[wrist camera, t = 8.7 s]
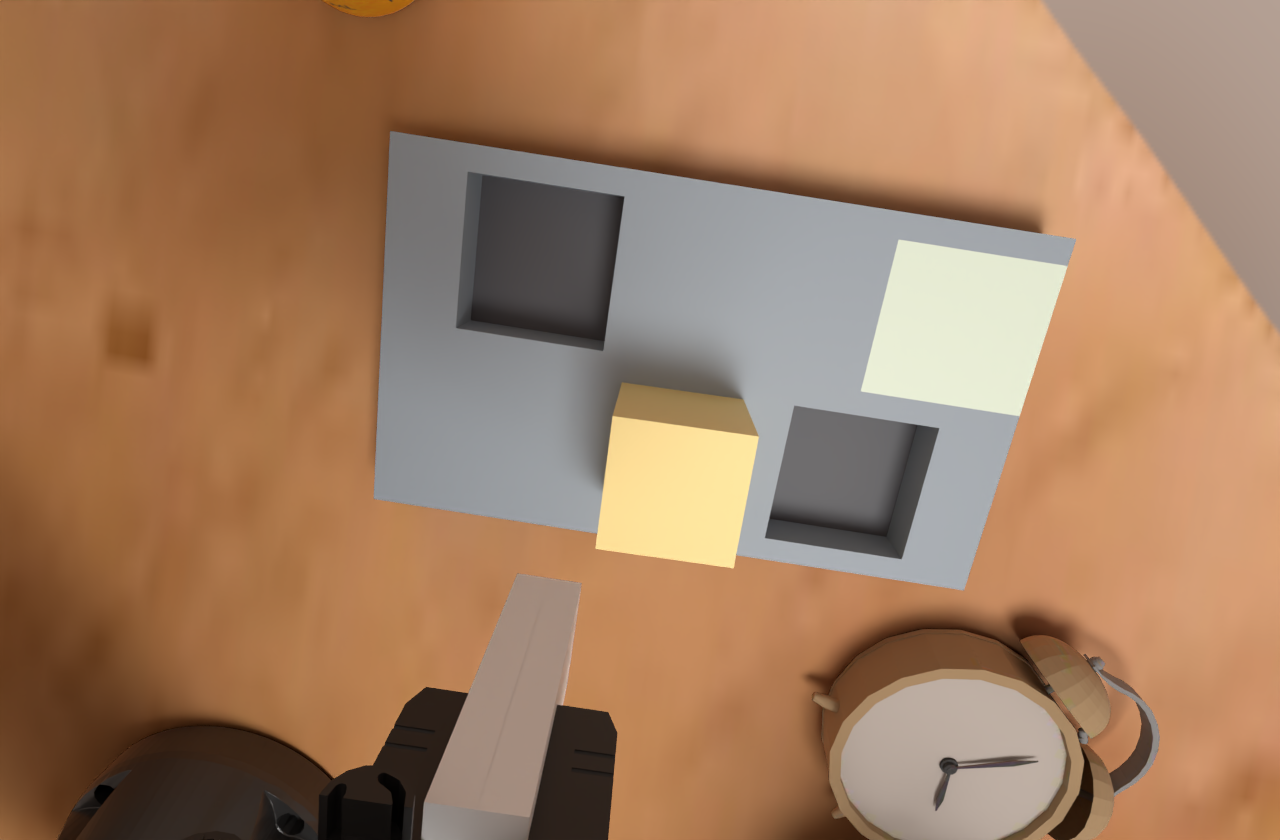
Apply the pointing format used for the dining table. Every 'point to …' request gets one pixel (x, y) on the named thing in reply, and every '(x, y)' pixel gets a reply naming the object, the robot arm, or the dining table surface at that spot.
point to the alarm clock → (974, 740)
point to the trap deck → (703, 349)
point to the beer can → (369, 6)
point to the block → (677, 475)
